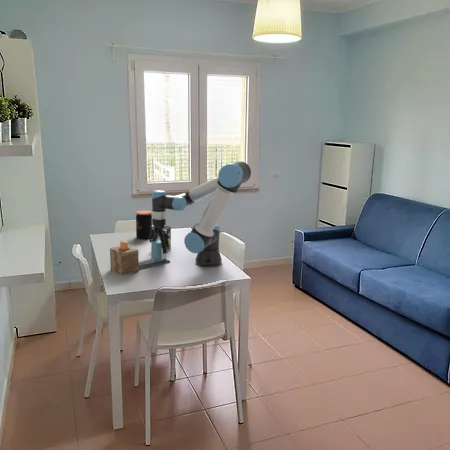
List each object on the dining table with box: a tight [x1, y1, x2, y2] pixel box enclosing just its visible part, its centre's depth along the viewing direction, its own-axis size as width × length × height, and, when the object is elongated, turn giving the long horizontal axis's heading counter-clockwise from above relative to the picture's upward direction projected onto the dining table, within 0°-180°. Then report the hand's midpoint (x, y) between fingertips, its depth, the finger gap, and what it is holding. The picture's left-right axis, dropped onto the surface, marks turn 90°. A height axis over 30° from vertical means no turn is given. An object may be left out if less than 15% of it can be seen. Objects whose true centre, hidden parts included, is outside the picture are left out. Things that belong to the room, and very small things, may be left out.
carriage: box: [150, 240, 168, 262], centre depth 254 cm, size 5×7×11 cm
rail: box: [139, 258, 171, 271], centre depth 251 cm, size 8×22×3 cm, turn 133°
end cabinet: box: [109, 245, 140, 276], centre depth 239 cm, size 12×11×12 cm
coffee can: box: [156, 225, 172, 252], centre depth 280 cm, size 10×10×14 cm
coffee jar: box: [135, 209, 153, 240], centre depth 304 cm, size 11×11×18 cm
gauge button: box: [119, 240, 129, 251], centre depth 238 cm, size 4×4×6 cm
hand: (158, 256), depth 255 cm, fingers open, 8 cm apart
